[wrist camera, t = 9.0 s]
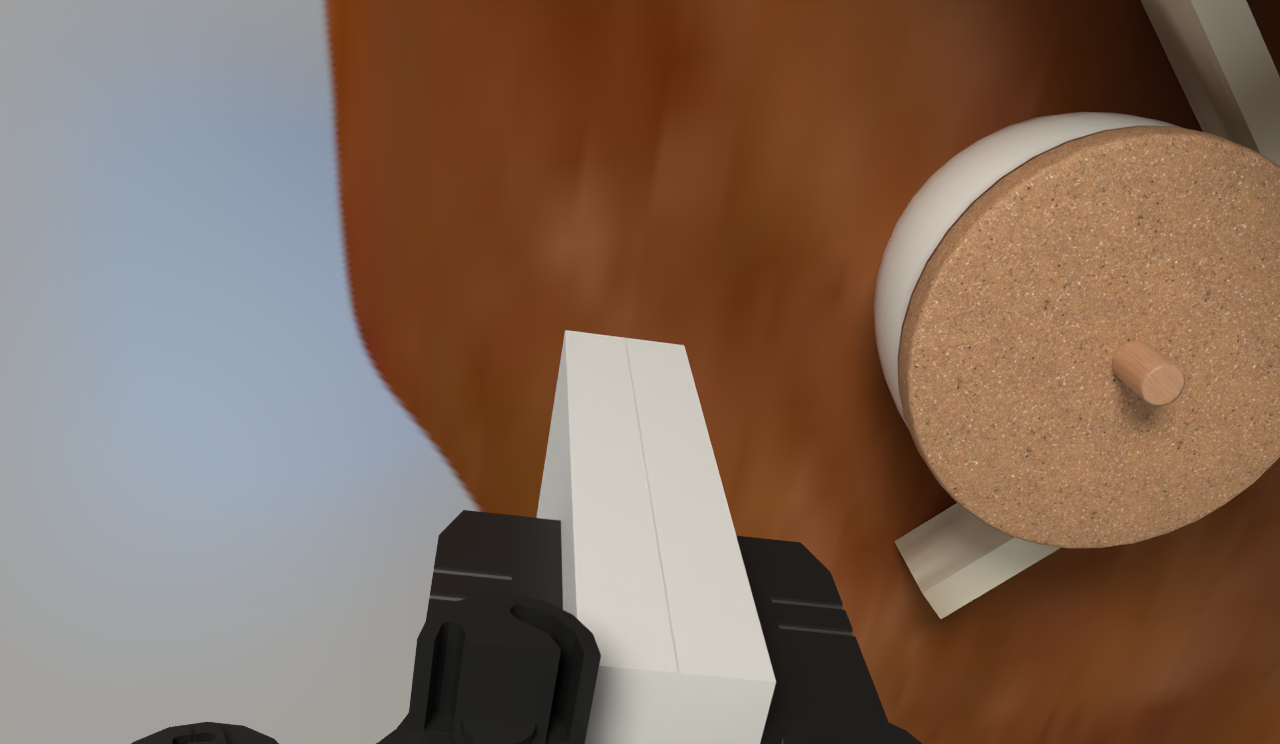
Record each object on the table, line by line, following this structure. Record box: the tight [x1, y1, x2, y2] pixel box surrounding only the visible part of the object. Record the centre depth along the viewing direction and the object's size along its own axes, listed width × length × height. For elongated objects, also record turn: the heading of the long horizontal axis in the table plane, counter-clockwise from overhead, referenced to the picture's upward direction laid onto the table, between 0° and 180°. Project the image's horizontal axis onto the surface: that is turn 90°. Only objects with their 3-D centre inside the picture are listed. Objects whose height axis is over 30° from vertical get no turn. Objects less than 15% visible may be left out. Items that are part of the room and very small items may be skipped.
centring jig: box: [894, 0, 1280, 619], centre depth 35 cm, size 22×9×3 cm, turn 169°
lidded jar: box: [874, 112, 1280, 548], centre depth 31 cm, size 11×11×9 cm
